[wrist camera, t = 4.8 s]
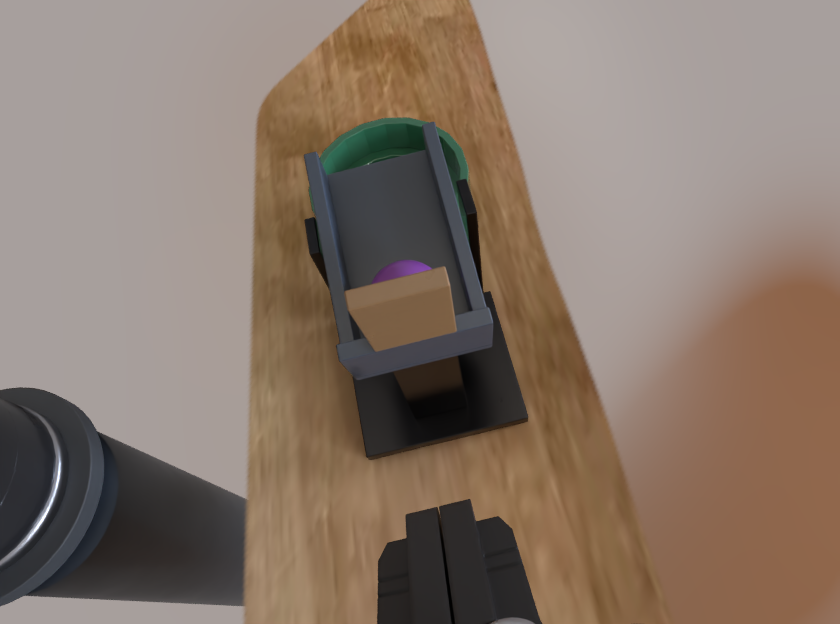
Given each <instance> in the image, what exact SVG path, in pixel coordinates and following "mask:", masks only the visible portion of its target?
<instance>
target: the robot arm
mask: <svg viewBox="0 0 840 624" xmlns="http://www.w3.org/2000/svg"><path fill="white" fill-rule="evenodd" d="M68 465H69V463H68V454H67V448H66V445H65V442H64V439H63V437H62V435H61V433H60V432H59V430H58V429H57V427H56V426H55V425H54V424H53V423H52V422H51V421H50V420H49V419H48V418H46V417H45V416H43V415H42V414H40V413H38V412H35V411H33V410H31V409H29V408H26V407H24V406H21V405H17V404H14V403H12V402H10V401H7V400H4V399H1V398H0V572H1V571H3V570H5V569H7V568H8V567H10V566H11V565H13V564H14V563H15V562H17V561H18V560H19V559H20V558H22V557H23V556H24V555H25V554H26V553H27V552H28V551H29V550H30V549H31V548H32V547H33V546H34V545H35V544H36V543H37V542H38V541H39V539H40V538H41V537H42V536H43V534H44V533H45V532H46V530H47V529H48V527H49V526H50V524H51V522H52V521H53V519H54V517H55V515H56V513H57V511H58V509H59V507H60V504H61V502H62V499H63V496H64V493H65V489H66V485H67V479H68ZM439 509H440V514H439V511H438V508H437V507H435V508H431V509H427V510H422V511H418V512H414V513H410V514H406V535H407V538H406V539H402V540H397V541H393V542H389V543H387V545H386V547H385V549H384V551H383V553H382V555H381V557H380V559H379V561H378V582H379V583H378V614H377V624H542V622H541V621H540V618H539V616H538V612H537V609H536V606H535V602H534V599H533V596H532V593H531V589H530V586H529V583H528V580H527V576H526V573H525V570H524V566H523V564H522V560H521V557H520V553H519V550H518V547H517V543H516V540H515V537H514V534H513V530H512V528H510V527H509V526H508V525H507V524H506V523H505V522H504V521H503V520H502V519H501V518H500V517H499V516H497V517H493V518H489V519H485V520H481V521H476V520H475V516H474V512H473V508H472V504H471V500H470V499H468V500H464V501H460V502H455V503H451V504H447V505H443V506H439ZM440 517H441V518H440Z"/></svg>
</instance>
